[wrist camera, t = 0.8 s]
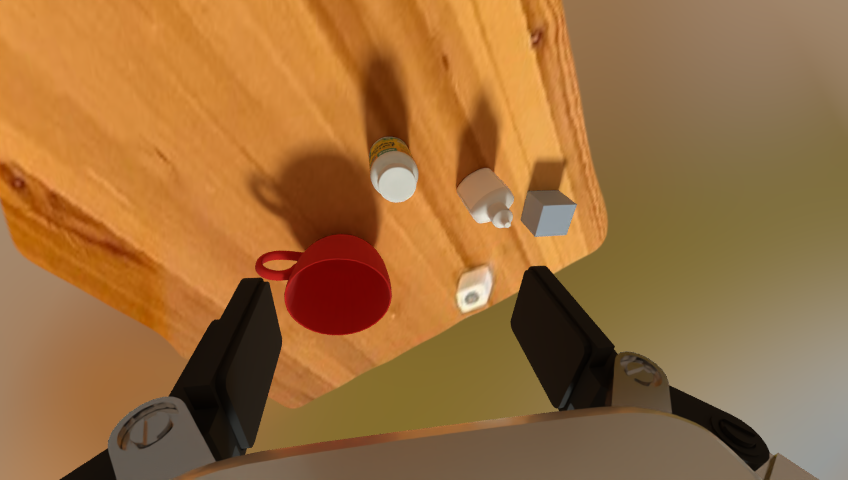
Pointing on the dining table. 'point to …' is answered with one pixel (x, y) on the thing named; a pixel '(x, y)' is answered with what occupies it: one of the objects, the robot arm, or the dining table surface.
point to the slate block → (547, 213)
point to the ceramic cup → (333, 284)
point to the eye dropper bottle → (487, 198)
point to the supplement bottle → (392, 169)
